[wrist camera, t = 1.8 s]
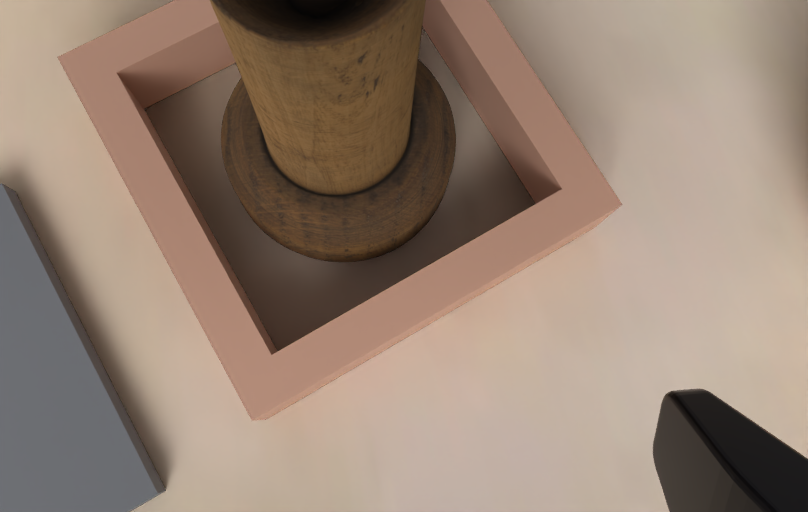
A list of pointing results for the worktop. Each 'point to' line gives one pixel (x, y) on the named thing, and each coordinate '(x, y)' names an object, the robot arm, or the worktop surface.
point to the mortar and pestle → (334, 123)
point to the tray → (401, 303)
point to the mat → (57, 394)
